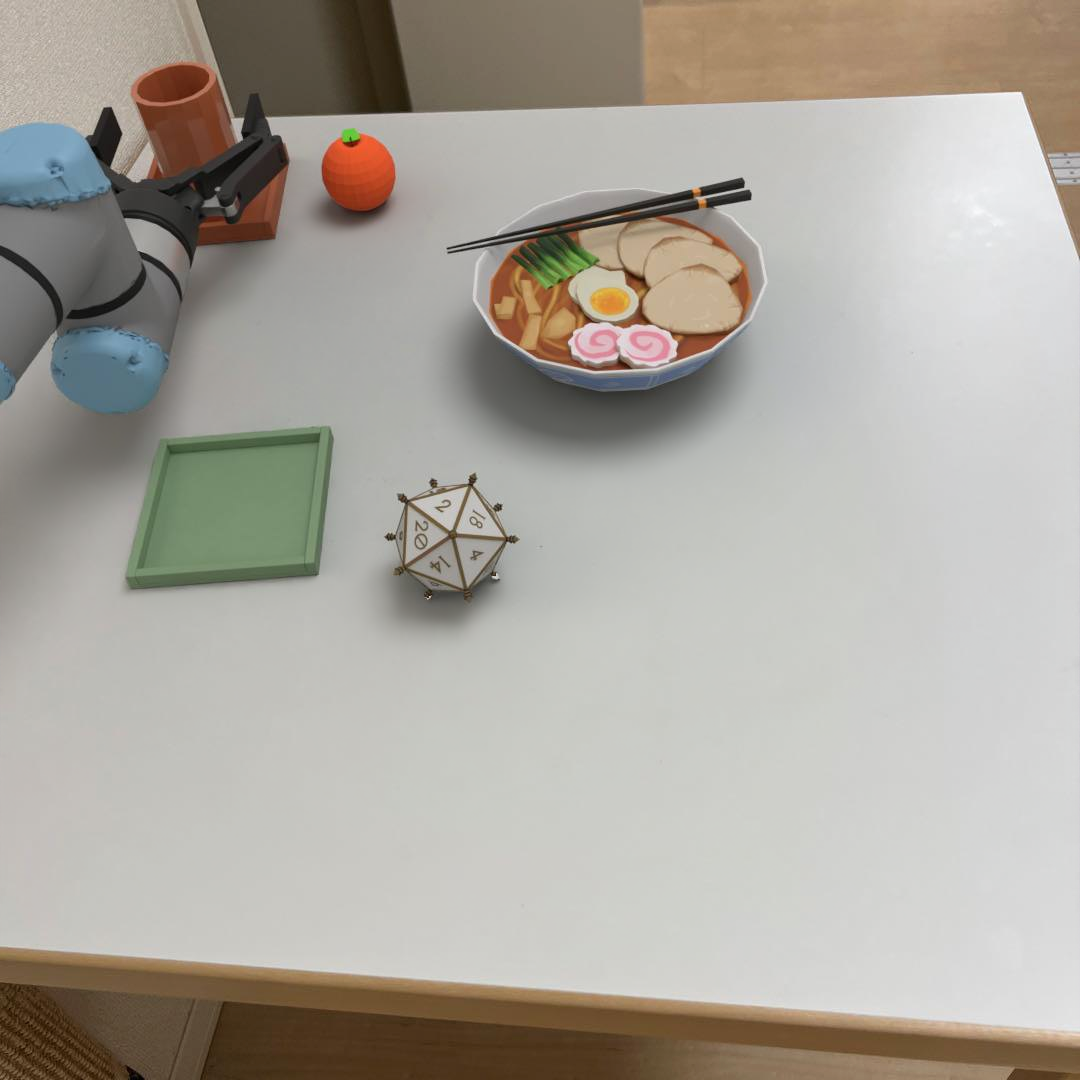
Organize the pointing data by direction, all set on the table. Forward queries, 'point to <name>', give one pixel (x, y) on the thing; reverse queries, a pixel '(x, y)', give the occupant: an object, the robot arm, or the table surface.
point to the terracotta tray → (244, 213)
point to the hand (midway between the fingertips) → (185, 113)
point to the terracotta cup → (183, 117)
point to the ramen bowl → (621, 284)
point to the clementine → (358, 171)
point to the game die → (449, 537)
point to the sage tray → (233, 508)
